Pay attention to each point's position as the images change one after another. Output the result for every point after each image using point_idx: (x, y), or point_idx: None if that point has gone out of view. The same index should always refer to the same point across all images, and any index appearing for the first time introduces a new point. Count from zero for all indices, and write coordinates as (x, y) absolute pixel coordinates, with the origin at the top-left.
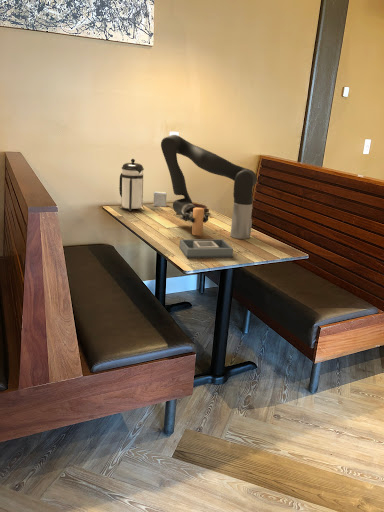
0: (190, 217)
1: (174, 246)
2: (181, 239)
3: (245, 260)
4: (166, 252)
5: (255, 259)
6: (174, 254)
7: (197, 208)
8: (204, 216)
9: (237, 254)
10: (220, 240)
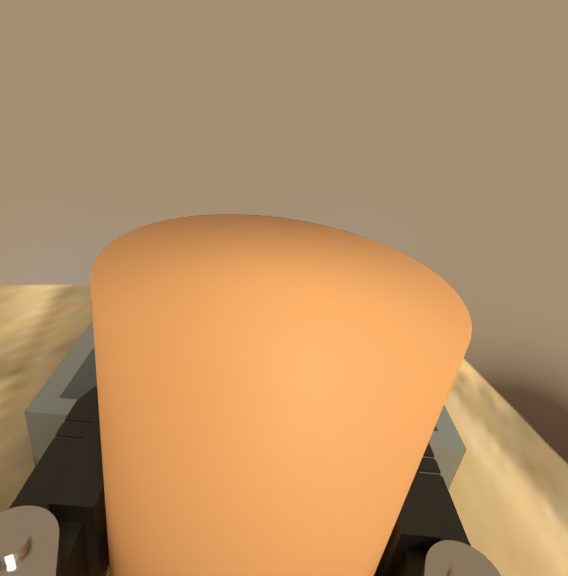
0: (449, 536)
1: (495, 559)
2: (451, 448)
3: (89, 293)
4: (516, 433)
5: (22, 292)
6: (456, 399)
7: (320, 295)
8: (29, 513)
9: (53, 347)
10: (68, 403)
